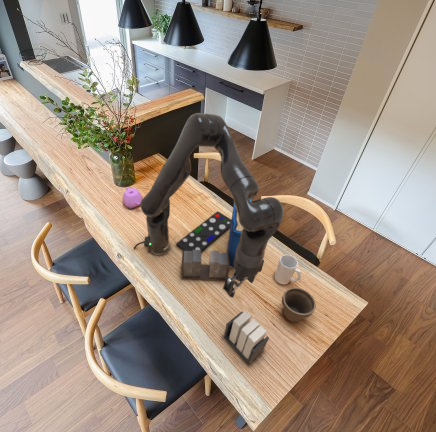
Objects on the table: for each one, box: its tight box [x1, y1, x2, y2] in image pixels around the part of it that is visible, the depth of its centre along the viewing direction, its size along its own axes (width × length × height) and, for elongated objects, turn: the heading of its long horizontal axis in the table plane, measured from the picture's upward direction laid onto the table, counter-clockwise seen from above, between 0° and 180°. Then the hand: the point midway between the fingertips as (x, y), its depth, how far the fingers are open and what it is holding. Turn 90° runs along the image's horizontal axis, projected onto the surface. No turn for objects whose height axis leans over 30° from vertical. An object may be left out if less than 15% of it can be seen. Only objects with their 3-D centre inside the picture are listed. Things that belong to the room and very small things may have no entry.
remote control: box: [175, 211, 232, 253], centre depth 147 cm, size 11×30×2 cm, turn 135°
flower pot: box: [281, 287, 317, 322], centre depth 114 cm, size 12×11×10 cm
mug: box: [274, 254, 302, 285], centre depth 124 cm, size 10×7×12 cm, turn 42°
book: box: [226, 198, 253, 268], centre depth 131 cm, size 22×7×25 cm, turn 168°
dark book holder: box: [223, 310, 270, 366], centre depth 104 cm, size 12×8×15 cm, turn 38°
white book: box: [229, 310, 252, 344], centre depth 106 cm, size 3×6×14 cm, turn 128°
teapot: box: [122, 186, 144, 209], centre depth 160 cm, size 10×15×9 cm
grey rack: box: [180, 250, 231, 282], centre depth 128 cm, size 19×8×12 cm, turn 86°
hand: (240, 287), depth 96 cm, fingers open, 8 cm apart
